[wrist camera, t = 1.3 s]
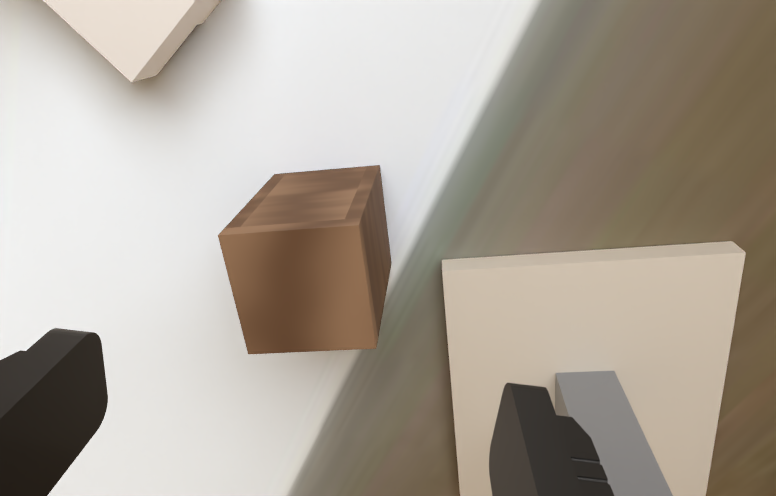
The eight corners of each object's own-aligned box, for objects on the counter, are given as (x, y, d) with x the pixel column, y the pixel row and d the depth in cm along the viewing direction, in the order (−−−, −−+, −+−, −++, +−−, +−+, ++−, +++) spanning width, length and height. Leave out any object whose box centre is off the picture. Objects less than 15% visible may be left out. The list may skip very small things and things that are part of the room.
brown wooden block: (379, 165, 30) (358, 225, 23) (391, 263, 33) (376, 348, 25) (274, 174, 31) (217, 235, 23) (293, 269, 34) (248, 354, 26)
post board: (732, 241, 31) (874, 359, 21) (695, 481, 38) (787, 655, 28) (441, 259, 33) (443, 376, 23) (459, 485, 40) (467, 648, 30)
